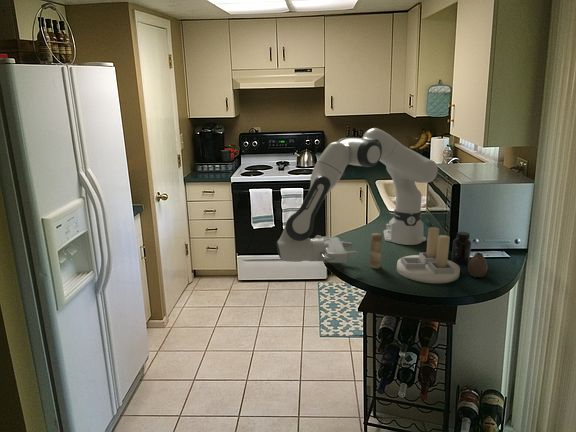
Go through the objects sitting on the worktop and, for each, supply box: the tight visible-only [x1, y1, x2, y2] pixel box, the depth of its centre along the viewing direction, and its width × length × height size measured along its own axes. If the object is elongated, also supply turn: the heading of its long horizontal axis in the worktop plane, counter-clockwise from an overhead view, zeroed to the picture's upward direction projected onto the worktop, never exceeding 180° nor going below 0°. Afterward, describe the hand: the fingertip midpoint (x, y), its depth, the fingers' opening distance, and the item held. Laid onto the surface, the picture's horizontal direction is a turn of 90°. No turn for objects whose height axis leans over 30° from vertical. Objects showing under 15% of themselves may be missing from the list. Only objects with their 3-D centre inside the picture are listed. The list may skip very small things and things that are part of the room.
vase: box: [467, 252, 489, 278], centre depth 180 cm, size 7×7×9 cm
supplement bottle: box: [451, 231, 472, 265], centre depth 194 cm, size 7×7×12 cm
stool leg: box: [369, 232, 383, 269], centre depth 188 cm, size 4×4×13 cm
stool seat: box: [396, 226, 461, 284], centre depth 183 cm, size 23×23×16 cm
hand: (354, 249), depth 187 cm, fingers open, 8 cm apart
